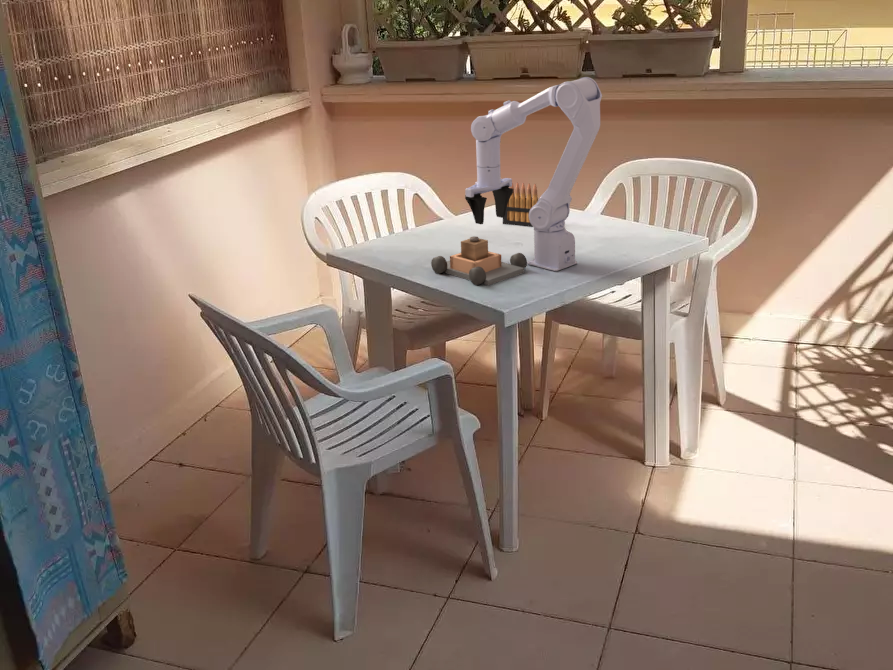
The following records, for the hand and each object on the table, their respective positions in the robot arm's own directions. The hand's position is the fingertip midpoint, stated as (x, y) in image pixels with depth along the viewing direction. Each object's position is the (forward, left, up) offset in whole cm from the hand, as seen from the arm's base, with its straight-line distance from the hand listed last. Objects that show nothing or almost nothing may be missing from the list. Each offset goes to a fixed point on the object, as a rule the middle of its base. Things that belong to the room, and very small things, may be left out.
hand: (490, 220), depth 219 cm
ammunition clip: (+14, -26, -9) cm, 31 cm away
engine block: (-7, +12, -8) cm, 16 cm away
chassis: (-7, +11, -9) cm, 16 cm away
